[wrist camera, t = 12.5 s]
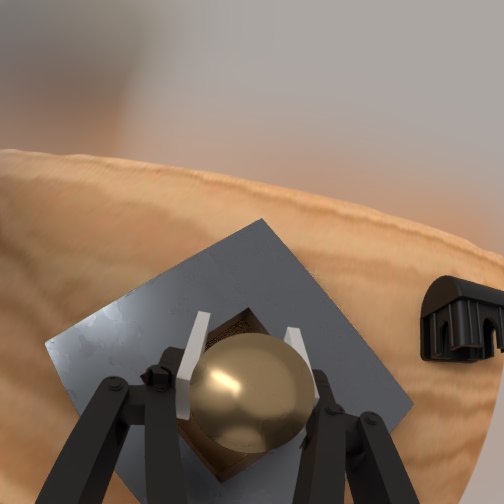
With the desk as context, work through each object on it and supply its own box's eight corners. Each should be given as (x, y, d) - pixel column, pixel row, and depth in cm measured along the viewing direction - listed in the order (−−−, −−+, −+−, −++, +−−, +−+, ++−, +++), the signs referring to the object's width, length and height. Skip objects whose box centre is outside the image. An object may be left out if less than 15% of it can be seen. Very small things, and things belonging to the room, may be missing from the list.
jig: (61, 351, 19) (44, 343, 17) (256, 237, 27) (261, 218, 25) (206, 550, 13) (207, 566, 10) (393, 406, 21) (413, 404, 18)
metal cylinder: (182, 388, 19) (163, 376, 10) (239, 351, 21) (264, 310, 12) (224, 443, 17) (240, 475, 9) (280, 403, 19) (337, 400, 11)
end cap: (473, 305, 27) (512, 281, 22) (477, 363, 24) (521, 346, 18) (414, 293, 27) (456, 262, 21) (416, 360, 23) (465, 341, 18)
